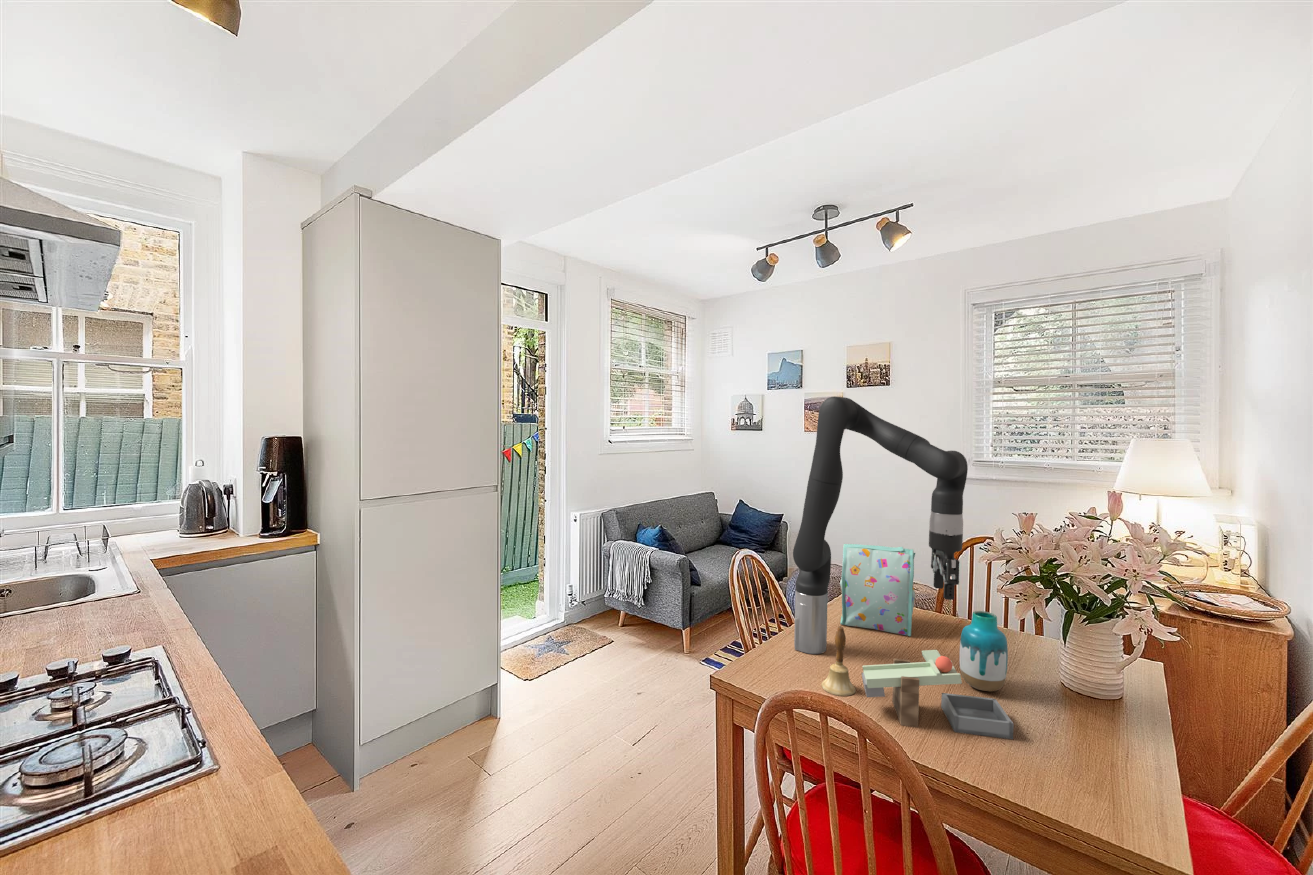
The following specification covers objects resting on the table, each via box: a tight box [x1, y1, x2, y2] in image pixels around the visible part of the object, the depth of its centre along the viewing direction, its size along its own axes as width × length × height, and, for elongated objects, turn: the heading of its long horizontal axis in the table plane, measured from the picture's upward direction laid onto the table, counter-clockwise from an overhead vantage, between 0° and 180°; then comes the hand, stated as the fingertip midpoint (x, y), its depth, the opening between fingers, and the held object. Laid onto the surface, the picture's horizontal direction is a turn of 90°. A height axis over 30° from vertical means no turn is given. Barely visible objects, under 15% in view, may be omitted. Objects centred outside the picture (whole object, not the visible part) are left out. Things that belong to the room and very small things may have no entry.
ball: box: [935, 655, 954, 672], centre depth 127 cm, size 4×4×4 cm
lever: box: [861, 649, 963, 698], centre depth 133 cm, size 20×16×5 cm
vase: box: [959, 610, 1009, 692], centre depth 141 cm, size 11×11×19 cm
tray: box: [940, 692, 1015, 740], centre depth 126 cm, size 12×11×4 cm
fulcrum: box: [891, 658, 920, 728], centre depth 129 cm, size 4×10×11 cm, turn 167°
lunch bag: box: [839, 543, 916, 637], centre depth 183 cm, size 23×16×27 cm
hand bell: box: [821, 626, 856, 697], centre depth 141 cm, size 8×8×16 cm
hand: (943, 593), depth 140 cm, fingers open, 8 cm apart
